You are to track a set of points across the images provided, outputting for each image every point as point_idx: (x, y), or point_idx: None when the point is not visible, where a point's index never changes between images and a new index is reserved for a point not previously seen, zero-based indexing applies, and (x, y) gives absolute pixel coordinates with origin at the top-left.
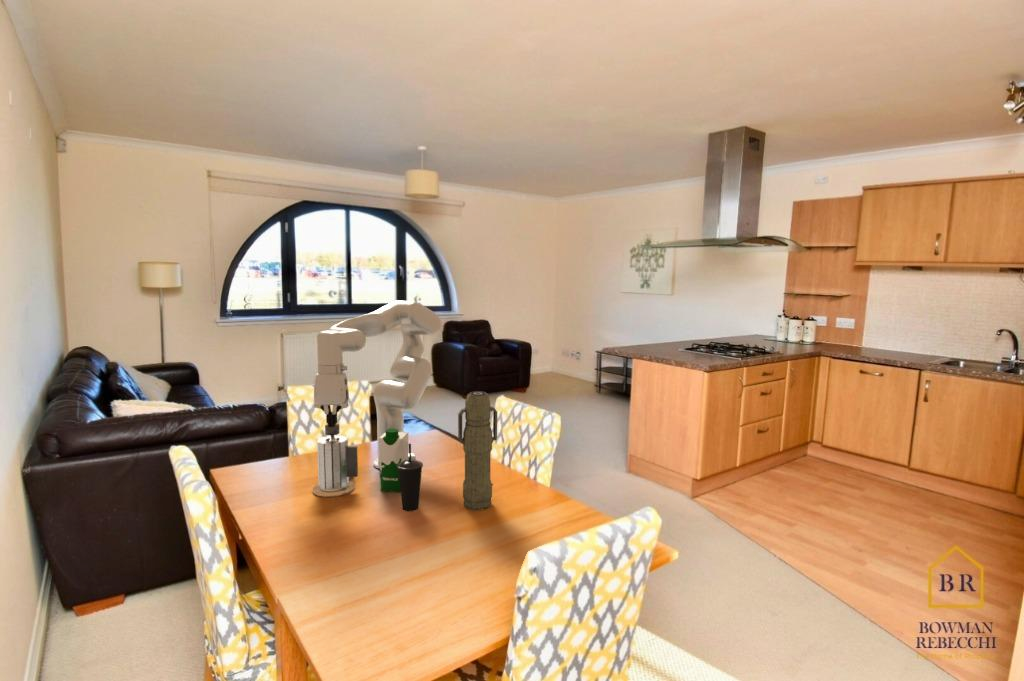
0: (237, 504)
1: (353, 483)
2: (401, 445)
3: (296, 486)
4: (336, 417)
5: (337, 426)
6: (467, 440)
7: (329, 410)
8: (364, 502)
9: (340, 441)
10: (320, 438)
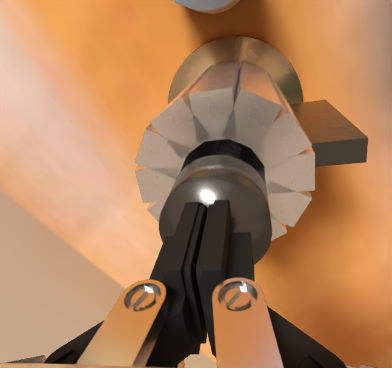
0: (49, 223)
1: (290, 68)
2: None
3: (106, 102)
4: (252, 276)
5: (267, 248)
6: None
7: (168, 345)
8: (363, 187)
9: (286, 209)
10: (140, 169)
